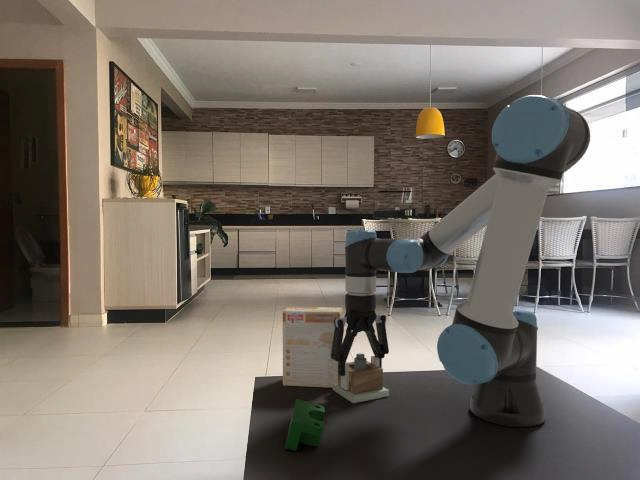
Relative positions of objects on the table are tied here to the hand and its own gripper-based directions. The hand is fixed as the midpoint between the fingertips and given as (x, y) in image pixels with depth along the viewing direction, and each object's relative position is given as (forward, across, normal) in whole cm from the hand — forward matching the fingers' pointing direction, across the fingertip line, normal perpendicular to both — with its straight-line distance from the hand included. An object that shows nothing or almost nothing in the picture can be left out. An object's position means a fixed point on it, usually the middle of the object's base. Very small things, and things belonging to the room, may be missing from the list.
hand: (360, 385), depth 114 cm
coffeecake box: (+2, +7, -12) cm, 14 cm away
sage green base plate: (+2, 0, 0) cm, 2 cm away
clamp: (+2, +22, +17) cm, 28 cm away
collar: (0, 0, 0) cm, 0 cm away
